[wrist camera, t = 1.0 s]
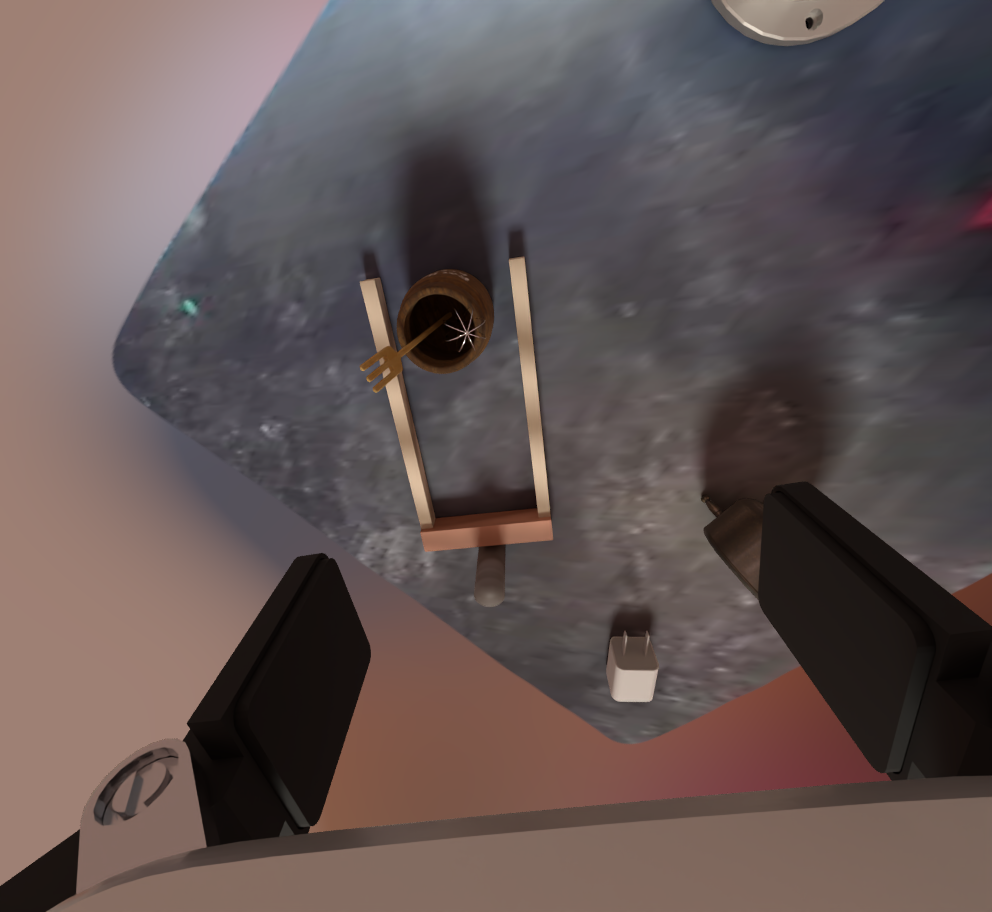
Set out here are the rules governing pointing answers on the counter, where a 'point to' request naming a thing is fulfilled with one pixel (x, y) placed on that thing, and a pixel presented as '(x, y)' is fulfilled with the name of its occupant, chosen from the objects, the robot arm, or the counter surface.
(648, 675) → the usb wall charger
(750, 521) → the alarm clock
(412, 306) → the utensil holder
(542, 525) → the guide channel
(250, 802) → the robot arm
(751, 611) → the counter surface
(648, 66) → the counter surface
